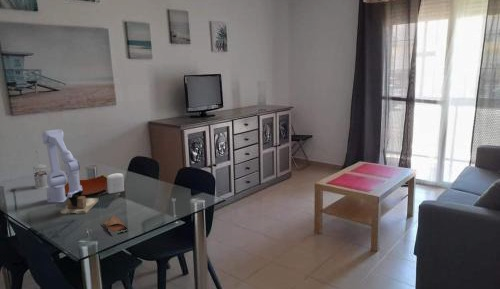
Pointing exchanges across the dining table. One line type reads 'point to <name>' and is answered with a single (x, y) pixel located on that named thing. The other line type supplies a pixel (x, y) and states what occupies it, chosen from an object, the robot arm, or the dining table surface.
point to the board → (89, 204)
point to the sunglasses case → (114, 224)
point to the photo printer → (115, 183)
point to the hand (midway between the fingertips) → (76, 204)
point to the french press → (40, 176)
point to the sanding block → (80, 203)
